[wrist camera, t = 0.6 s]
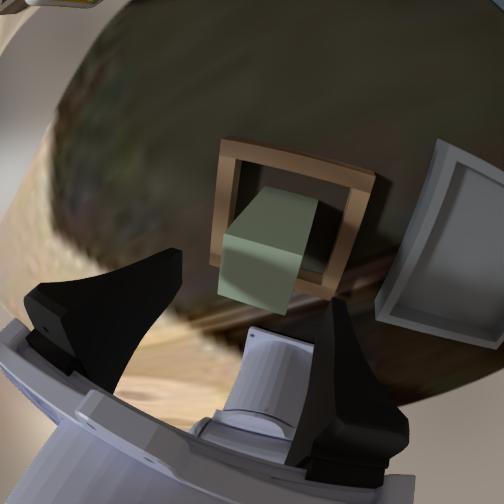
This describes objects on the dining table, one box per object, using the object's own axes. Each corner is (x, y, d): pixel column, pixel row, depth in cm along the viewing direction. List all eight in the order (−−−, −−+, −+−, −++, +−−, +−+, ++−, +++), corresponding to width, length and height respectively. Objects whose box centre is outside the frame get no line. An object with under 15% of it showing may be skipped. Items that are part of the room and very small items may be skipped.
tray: (489, 331, 20) (496, 349, 18) (374, 300, 23) (375, 319, 21) (558, 207, 13) (572, 220, 11) (437, 138, 15) (449, 144, 13)
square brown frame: (332, 290, 24) (331, 301, 22) (216, 255, 25) (209, 264, 24) (373, 171, 18) (375, 176, 17) (229, 135, 20) (221, 138, 18)
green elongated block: (305, 246, 22) (285, 315, 16) (256, 233, 23) (217, 293, 16) (318, 199, 20) (302, 256, 14) (265, 186, 21) (223, 233, 14)
